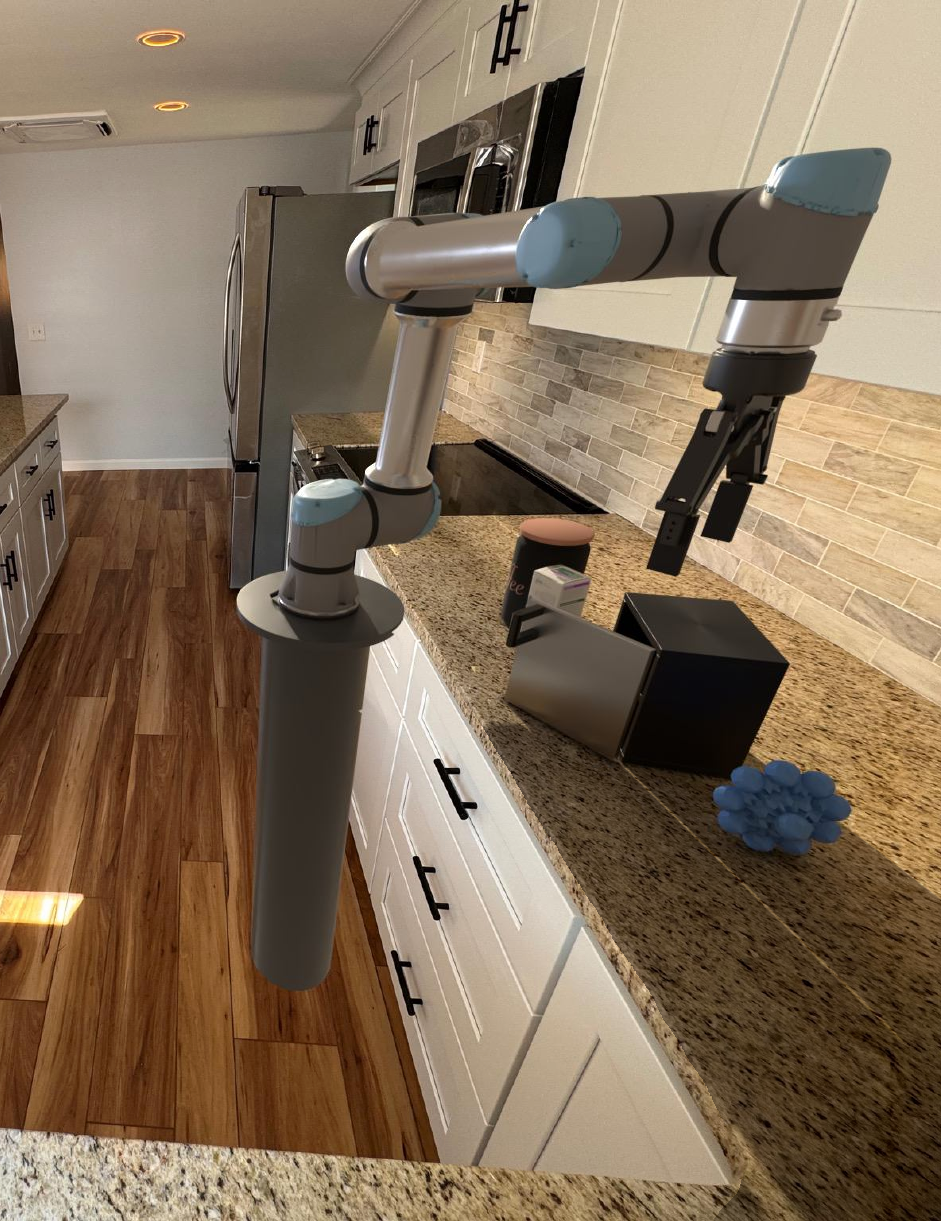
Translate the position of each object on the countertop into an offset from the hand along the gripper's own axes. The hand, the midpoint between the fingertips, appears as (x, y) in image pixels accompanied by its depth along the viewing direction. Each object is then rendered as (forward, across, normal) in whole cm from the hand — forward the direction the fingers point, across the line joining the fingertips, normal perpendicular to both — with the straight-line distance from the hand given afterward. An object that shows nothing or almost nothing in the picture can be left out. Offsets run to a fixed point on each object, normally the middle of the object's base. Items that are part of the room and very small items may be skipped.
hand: (690, 554), depth 73 cm
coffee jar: (+30, +28, +25) cm, 48 cm away
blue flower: (+29, -4, -16) cm, 34 cm away
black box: (+29, +11, -1) cm, 31 cm away
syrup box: (+30, +20, +19) cm, 41 cm away
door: (+29, -1, +9) cm, 30 cm away
